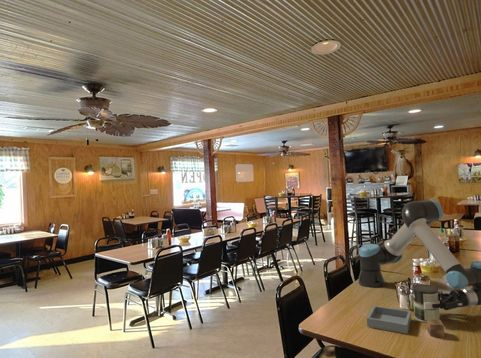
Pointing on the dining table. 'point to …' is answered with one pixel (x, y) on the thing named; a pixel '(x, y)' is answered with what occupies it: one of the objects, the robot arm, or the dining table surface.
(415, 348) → the dining table surface
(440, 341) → the dining table surface
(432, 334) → the walnut block
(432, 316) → the coffee can
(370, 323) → the tray
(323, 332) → the dining table surface
